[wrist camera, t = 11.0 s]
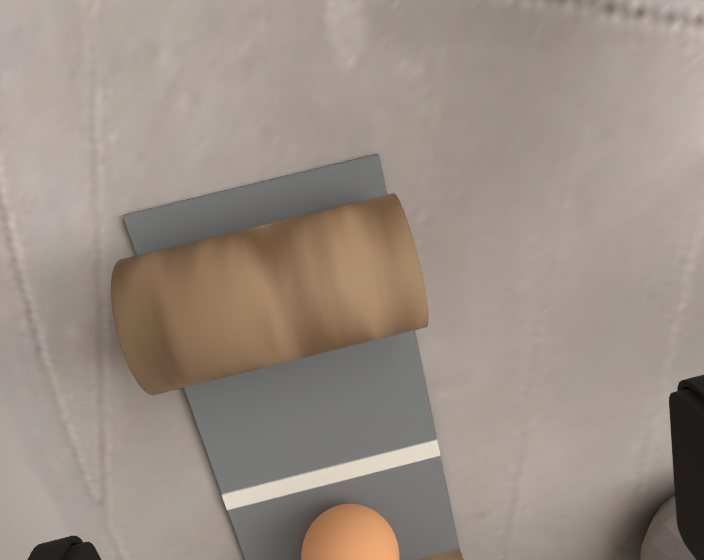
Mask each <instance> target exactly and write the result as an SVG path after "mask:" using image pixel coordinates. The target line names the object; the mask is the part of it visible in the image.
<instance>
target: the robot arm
mask: <svg viewBox="0 0 704 560" xmlns="http://www.w3.org/2000/svg"><path fill="white" fill-rule="evenodd" d="M669 407H670V423H671V439H672V454H673V470H674V486H675V502H676V518H677V526H678V530H679V533H680V535H681V538H682V540H683V542H684V544H685V545H686V547H687V548H688V550H689V551H690V552H691V553H692V555H693V556H694V557H695V559H696V560H704V375H701V376H697V377H693V378H689V379H685V380H682V381H681V382H679V385H678V391H677V392H673V393H671V394H670V397H669ZM28 560H101V559H100V557H99V555H98V553H97V551H96V549H95V547H94V546H93V544H92V543H90V542H84V543H83V541H82V540H81V539H80V538H79V537H77V536H69V537H65V538H62V539H58V540H54V541H50V542H46V543H42V544H39V545H37V546H36V547H35V548H34V549H33V551H32V552H31V554H30V556H29V558H28Z"/></svg>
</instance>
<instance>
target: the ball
mask: <svg viewBox="0 0 704 560" xmlns="http://www.w3.org/2000/svg"><path fill="white" fill-rule="evenodd" d="M301 560H399V548H398V542H397V539H396V536H395V534H394V532H393V530H392V528H391V526H390V525H389V524H388V522H387V521H386V520H385V519H384V518H383V517H382V516H381V515H380V514H379V513H377V512H376V511H374V510H373V509H371V508H369V507H366V506H363V505H359V504H342V505H338V506H334V507H332V508H330V509H328V510H326V511H325V512H323V513H322V514H321V515H320V516H318V517H317V518H316V520H315V521H314V522H313V523H312V524H311V526H310V527H309V529H308V531H307V533H306V535H305V538H304V541H303V545H302V552H301Z"/></svg>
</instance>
